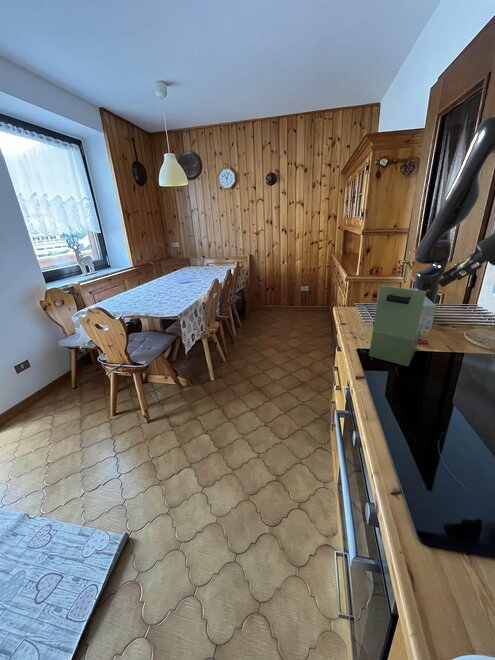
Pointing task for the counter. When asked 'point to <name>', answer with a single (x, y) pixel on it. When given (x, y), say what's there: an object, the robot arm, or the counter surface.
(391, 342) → the bin
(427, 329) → the snack box
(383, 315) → the bin lid
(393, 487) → the counter surface
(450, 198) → the robot arm
